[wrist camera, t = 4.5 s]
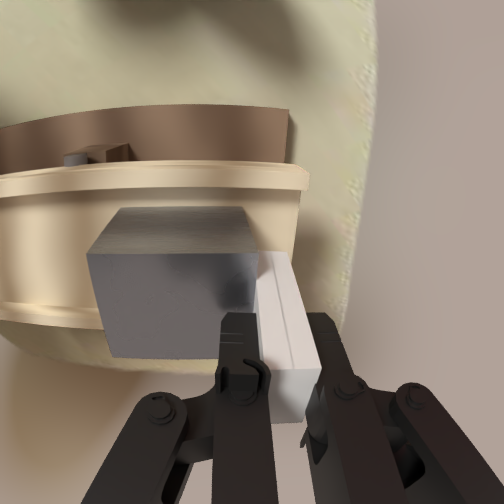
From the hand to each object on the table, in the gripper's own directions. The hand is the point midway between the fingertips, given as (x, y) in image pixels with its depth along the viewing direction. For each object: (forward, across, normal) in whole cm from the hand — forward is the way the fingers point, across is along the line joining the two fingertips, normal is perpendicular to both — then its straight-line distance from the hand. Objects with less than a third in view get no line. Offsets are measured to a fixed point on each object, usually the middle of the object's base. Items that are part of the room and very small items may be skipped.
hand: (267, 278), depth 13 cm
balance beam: (+4, -10, 0) cm, 11 cm away
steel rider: (+2, -4, 0) cm, 5 cm away
